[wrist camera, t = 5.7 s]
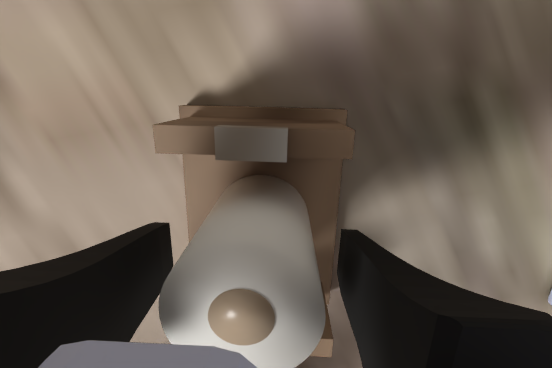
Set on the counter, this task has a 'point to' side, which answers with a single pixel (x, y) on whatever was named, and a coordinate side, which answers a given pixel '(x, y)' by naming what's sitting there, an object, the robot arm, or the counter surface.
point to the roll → (249, 278)
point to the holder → (265, 165)
